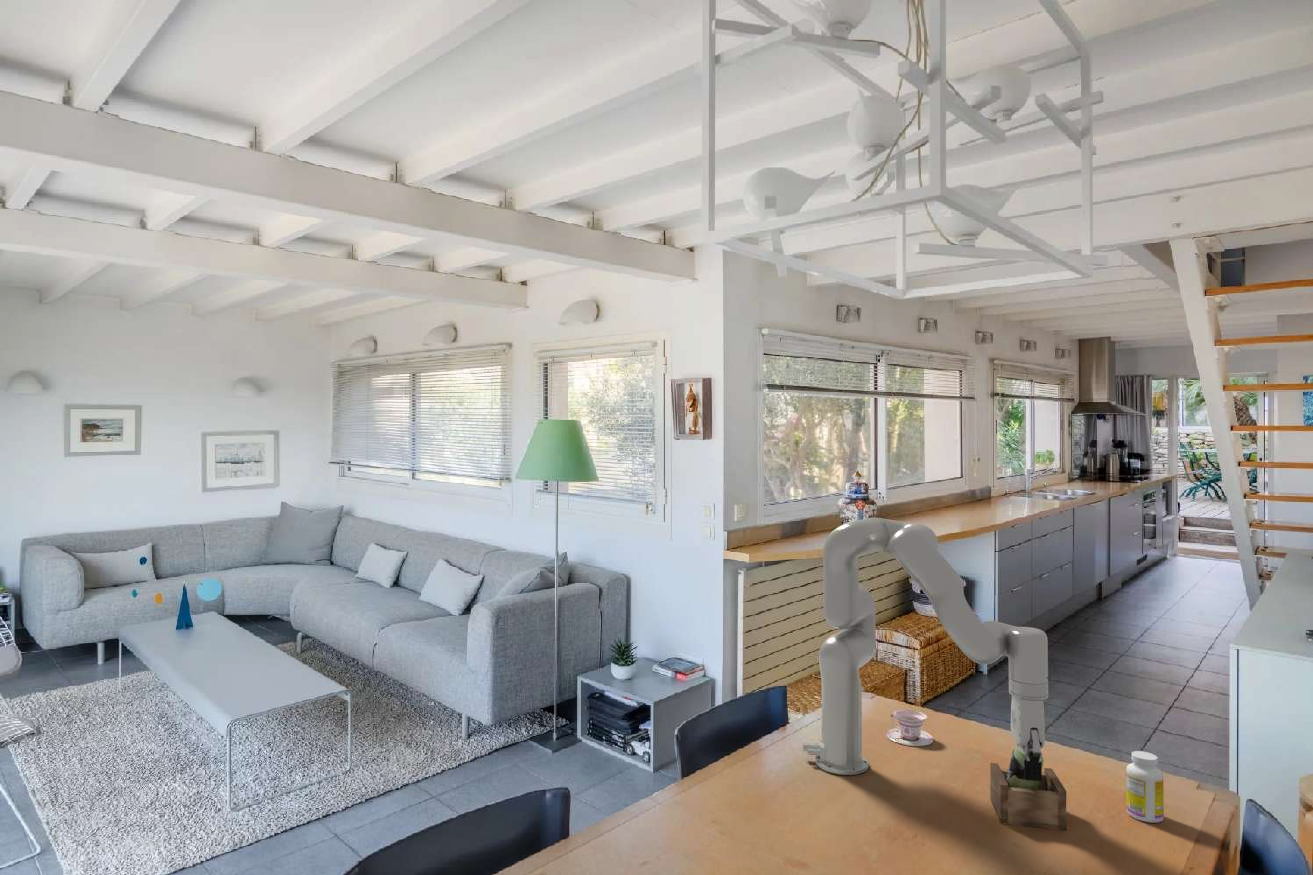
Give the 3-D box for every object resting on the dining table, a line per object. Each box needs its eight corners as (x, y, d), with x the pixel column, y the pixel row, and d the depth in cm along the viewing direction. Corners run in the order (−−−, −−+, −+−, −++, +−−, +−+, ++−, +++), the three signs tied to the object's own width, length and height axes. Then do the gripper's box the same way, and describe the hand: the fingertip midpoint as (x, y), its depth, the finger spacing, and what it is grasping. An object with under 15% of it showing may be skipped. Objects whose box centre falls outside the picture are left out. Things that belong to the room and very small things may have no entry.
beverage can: (1025, 795, 168) (1034, 741, 167) (1042, 812, 160) (1051, 756, 160) (997, 791, 168) (1005, 737, 167) (1012, 808, 160) (1021, 752, 160)
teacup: (935, 734, 208) (935, 711, 208) (931, 750, 197) (931, 726, 197) (889, 726, 213) (889, 704, 213) (883, 742, 202) (883, 718, 202)
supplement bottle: (1158, 811, 165) (1158, 751, 165) (1167, 826, 158) (1168, 763, 158) (1122, 806, 167) (1122, 747, 167) (1130, 820, 161) (1130, 759, 161)
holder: (1000, 823, 159) (1000, 784, 159) (990, 798, 170) (990, 762, 170) (1066, 830, 157) (1066, 790, 157) (1051, 805, 167) (1051, 768, 167)
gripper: (1000, 674, 172) (1001, 755, 172) (1018, 699, 156) (1019, 789, 155) (1037, 676, 171) (1038, 758, 170) (1058, 702, 154) (1059, 793, 154)
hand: (1029, 772), depth 163 cm, fingers closed on beverage can, 5 cm apart
